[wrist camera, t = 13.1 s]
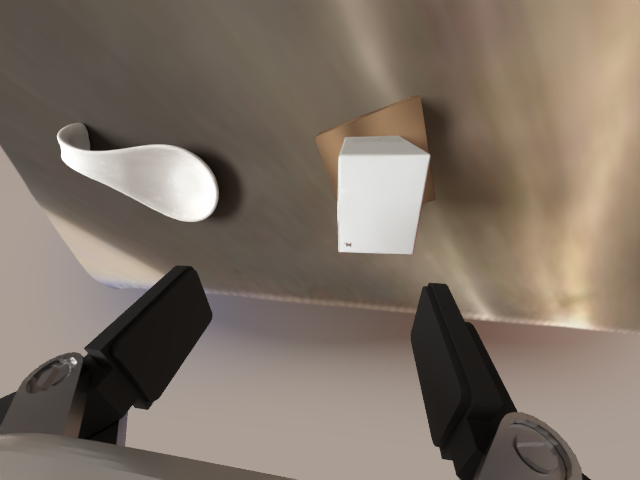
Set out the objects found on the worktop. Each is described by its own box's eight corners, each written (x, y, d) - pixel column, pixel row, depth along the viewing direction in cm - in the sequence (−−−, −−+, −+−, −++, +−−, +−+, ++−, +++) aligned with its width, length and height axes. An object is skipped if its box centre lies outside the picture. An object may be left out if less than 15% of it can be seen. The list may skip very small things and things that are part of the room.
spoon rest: (232, 157, 36) (206, 169, 29) (223, 222, 42) (200, 243, 35) (77, 98, 34) (16, 97, 28) (91, 173, 40) (43, 186, 34)
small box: (392, 201, 30) (414, 257, 19) (343, 201, 31) (336, 254, 20) (400, 133, 27) (433, 153, 15) (344, 135, 27) (335, 154, 16)
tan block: (411, 96, 29) (420, 95, 25) (425, 187, 34) (435, 199, 30) (320, 132, 32) (314, 136, 28) (346, 210, 37) (344, 223, 33)
